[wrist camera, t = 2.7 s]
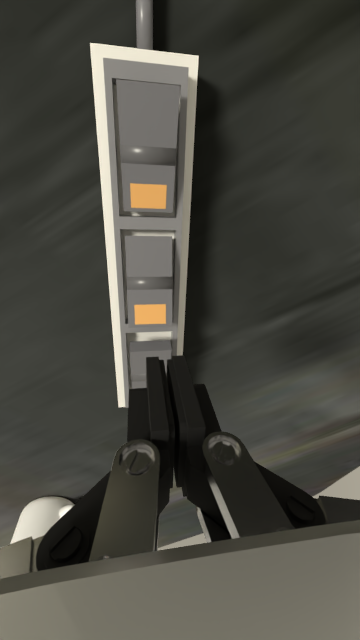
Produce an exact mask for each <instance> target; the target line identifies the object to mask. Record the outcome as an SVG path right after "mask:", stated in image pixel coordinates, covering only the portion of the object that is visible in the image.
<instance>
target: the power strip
mask: <svg viewBox="0 0 360 640" xmlns="http://www.w3.org/2000/svg"><path fill="white" fill-rule="evenodd" d="M136 29H137V48H129V47H120V46H112V45H104V44H96V43H90V49H91V61H92V74H93V87H94V100H95V112H96V125H97V138H98V150H99V163H100V176H101V189H102V201H103V214H104V227H105V239H106V252H107V265H108V278H109V290H110V303H111V316H112V329H113V341H114V354H115V367H116V379H117V392H118V405H119V407H125V408H126V407H128V401H129V389H132V382H131V366H130V342H132V341H157V340H170V343H171V349H172V352H171V358H172V356H179V355H183V340H184V321H185V302H186V283H187V265H188V246H189V227H190V208H191V189H192V170H193V151H194V132H195V113H196V95H197V76H198V57H199V56H195V55H187V54H179V53H170V52H162V51H154V50H153V0H136ZM116 79H119V80H128V81H138V82H148V83H158V84H167V85H177V86H180V93H179V110H178V128H177V146H176V165H175V182H174V200H173V213H165V212H133V211H124V207H123V189H122V172H121V157H120V137H119V120H118V103H117V85H116ZM125 236H172V281H173V286H172V326H171V327H141V328H128V304H127V278H126V251H125Z"/></svg>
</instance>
